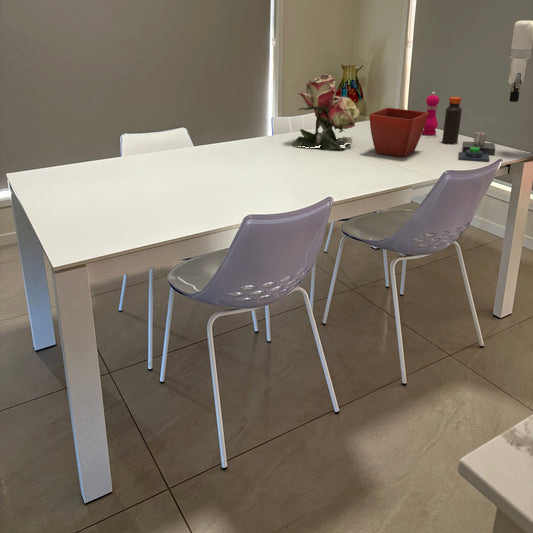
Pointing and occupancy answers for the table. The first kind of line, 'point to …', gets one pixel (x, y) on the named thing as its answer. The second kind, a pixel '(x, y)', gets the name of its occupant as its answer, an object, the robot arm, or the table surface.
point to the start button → (474, 149)
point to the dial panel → (480, 147)
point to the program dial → (479, 138)
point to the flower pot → (396, 130)
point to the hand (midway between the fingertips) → (513, 101)
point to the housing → (473, 156)
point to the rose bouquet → (327, 114)
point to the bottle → (452, 121)
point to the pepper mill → (431, 115)
